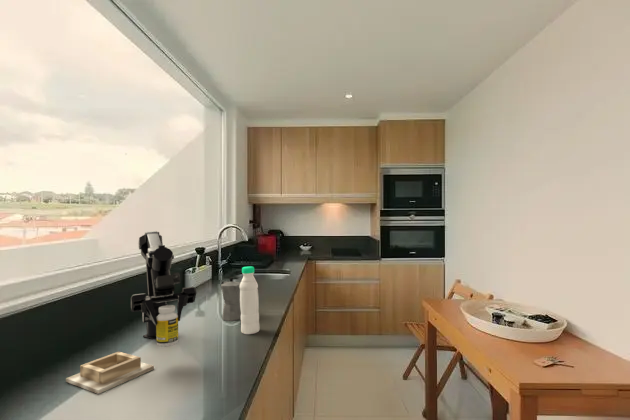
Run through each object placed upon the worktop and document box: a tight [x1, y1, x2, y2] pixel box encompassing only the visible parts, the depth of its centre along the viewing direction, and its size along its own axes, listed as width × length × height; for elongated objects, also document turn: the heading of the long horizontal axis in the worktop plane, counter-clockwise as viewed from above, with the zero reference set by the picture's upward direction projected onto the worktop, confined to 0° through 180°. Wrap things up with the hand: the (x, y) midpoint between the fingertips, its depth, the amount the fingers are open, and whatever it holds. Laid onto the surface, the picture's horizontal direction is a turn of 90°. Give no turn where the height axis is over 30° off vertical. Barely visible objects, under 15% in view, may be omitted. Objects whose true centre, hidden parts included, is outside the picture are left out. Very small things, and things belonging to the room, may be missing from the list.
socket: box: [65, 351, 155, 395], centre depth 100 cm, size 16×16×4 cm
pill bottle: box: [155, 304, 179, 347], centre depth 106 cm, size 6×6×11 cm
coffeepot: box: [220, 276, 242, 322], centre depth 155 cm, size 15×9×18 cm, turn 44°
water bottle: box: [239, 265, 261, 335], centre depth 134 cm, size 7×7×25 cm
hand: (167, 322), depth 104 cm, fingers closed on pill bottle, 6 cm apart
